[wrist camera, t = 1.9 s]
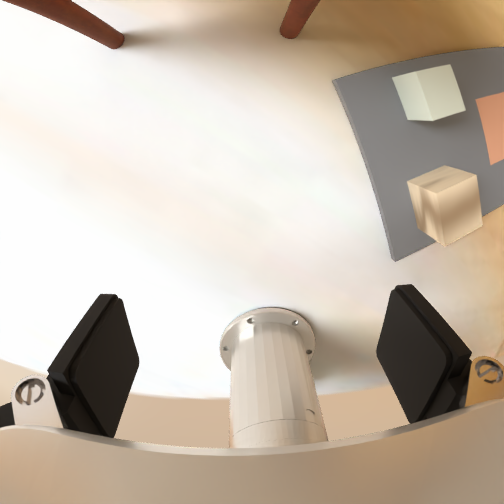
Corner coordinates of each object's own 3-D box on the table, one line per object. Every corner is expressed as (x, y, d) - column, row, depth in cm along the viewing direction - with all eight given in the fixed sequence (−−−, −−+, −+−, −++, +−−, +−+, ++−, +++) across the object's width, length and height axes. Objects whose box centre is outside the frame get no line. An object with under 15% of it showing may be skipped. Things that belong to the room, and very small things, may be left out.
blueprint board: (530, 183, 30) (534, 185, 29) (391, 258, 34) (395, 262, 33) (500, 47, 22) (504, 46, 21) (332, 80, 26) (335, 79, 25)
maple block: (453, 210, 31) (482, 225, 25) (417, 227, 32) (444, 246, 26) (444, 165, 29) (476, 174, 23) (406, 181, 30) (436, 193, 24)
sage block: (439, 109, 26) (465, 110, 22) (407, 120, 27) (432, 120, 22) (424, 69, 24) (450, 64, 20) (391, 77, 25) (415, 71, 20)
